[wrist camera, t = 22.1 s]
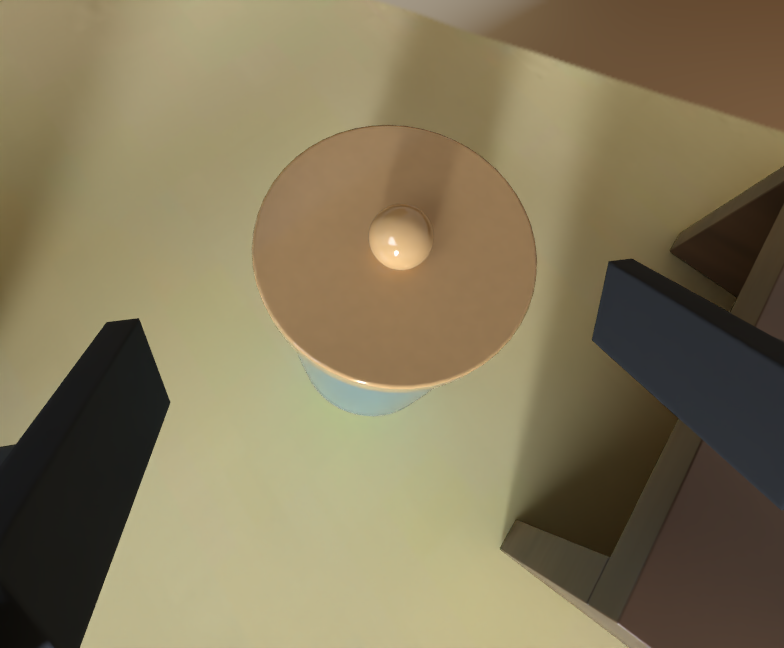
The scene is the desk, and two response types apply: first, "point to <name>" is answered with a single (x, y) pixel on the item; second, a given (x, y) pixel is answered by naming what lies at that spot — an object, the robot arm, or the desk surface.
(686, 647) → the shelf
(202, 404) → the desk surface
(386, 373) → the canister
